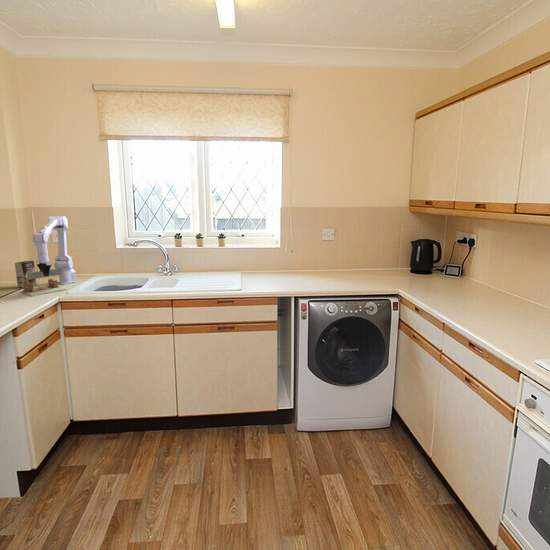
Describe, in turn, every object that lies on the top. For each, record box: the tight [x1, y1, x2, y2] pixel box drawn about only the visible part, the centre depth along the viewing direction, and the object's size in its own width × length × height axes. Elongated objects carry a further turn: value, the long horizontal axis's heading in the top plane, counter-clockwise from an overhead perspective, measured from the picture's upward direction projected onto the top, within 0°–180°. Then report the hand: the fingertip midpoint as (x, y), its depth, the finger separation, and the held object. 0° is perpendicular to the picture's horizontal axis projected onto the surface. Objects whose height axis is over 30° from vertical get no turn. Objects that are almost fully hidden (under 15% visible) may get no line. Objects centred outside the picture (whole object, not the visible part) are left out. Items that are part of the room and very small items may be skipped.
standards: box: [22, 278, 60, 294], centre depth 247 cm, size 18×8×5 cm, turn 140°
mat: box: [26, 286, 67, 297], centre depth 241 cm, size 20×8×1 cm, turn 140°
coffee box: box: [14, 260, 38, 289], centre depth 255 cm, size 9×6×16 cm
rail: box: [27, 268, 62, 280], centre depth 239 cm, size 18×4×4 cm, turn 140°
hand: (45, 275), depth 239 cm, fingers closed on rail, 3 cm apart
